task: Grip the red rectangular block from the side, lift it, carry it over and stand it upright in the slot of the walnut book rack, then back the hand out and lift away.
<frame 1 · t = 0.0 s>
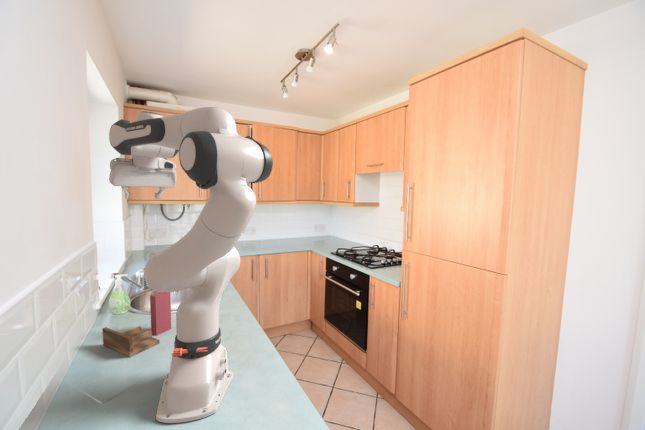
hand: (143, 198, 101), 52 cm above the table, tool tilted 20°, fingers open, 8 cm apart
red rectangular block: (161, 331, 110), on the table
book rack: (131, 344, 100), on the table
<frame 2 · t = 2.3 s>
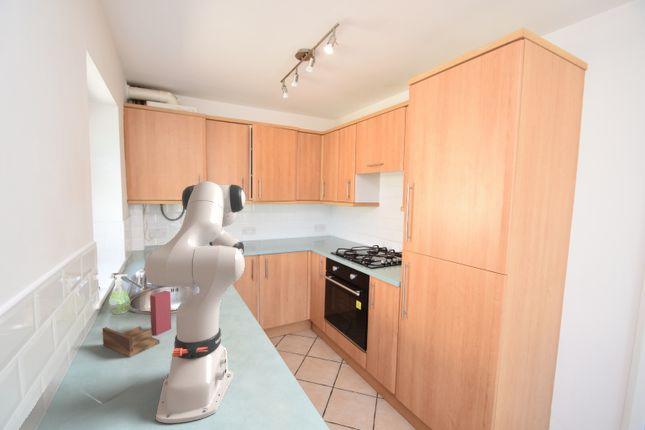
hand: (187, 273, 119), 20 cm above the table, tool horizontal, fingers open, 8 cm apart
nothing on the table moved.
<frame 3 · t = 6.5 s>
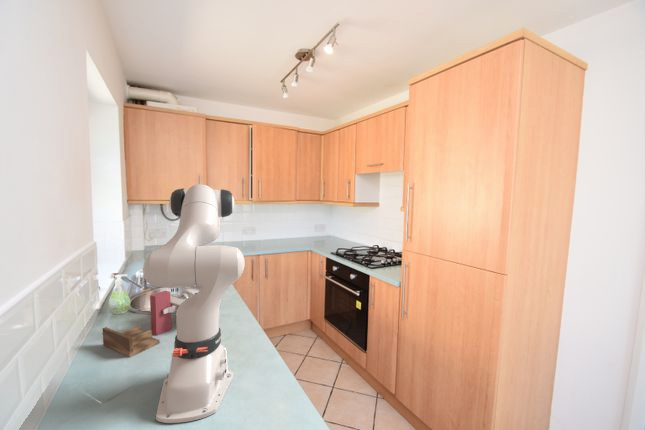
hand: (158, 310, 109), 9 cm above the table, tool horizontal, fingers closed on red rectangular block, 3 cm apart
red rectangular block: (161, 331, 110), on the table, touching gripper
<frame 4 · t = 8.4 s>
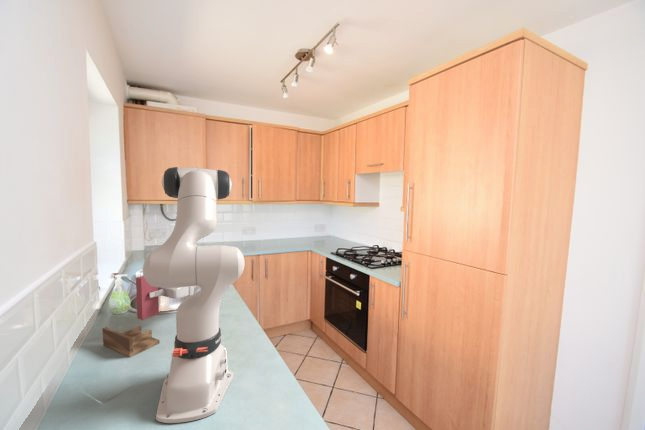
hand: (144, 294, 103), 17 cm above the table, tool horizontal, fingers closed on red rectangular block, 3 cm apart
red rectangular block: (148, 316, 105), point 8 cm above the table, touching gripper
when the fingers open (11 cm above the table, at t = 10.5 s): red rectangular block drops 1 cm, resting on book rack.
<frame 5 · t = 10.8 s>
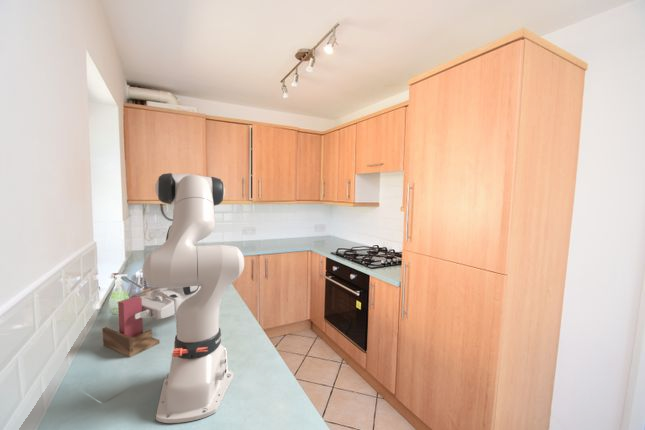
hand: (127, 314, 99), 11 cm above the table, tool horizontal, fingers open, 6 cm apart
red rectangular block: (131, 341, 100), point 1 cm above the table, touching book rack
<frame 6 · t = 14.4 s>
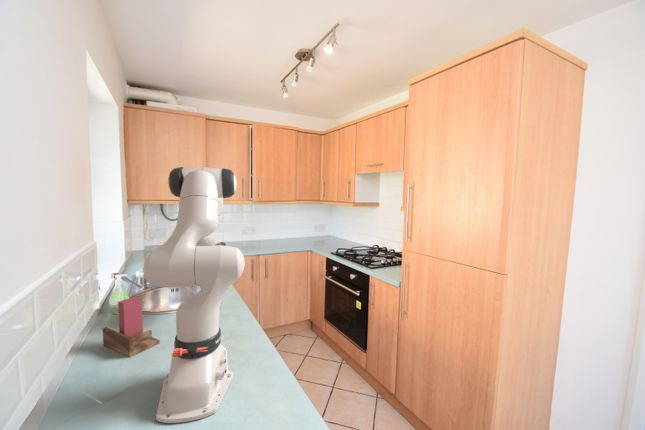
hand: (162, 276, 109), 21 cm above the table, tool horizontal, fingers open, 8 cm apart
nothing on the table moved.
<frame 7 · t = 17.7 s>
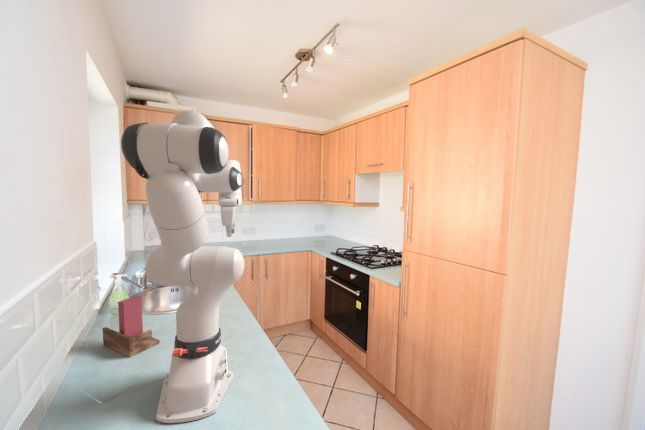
hand: (230, 235, 114), 37 cm above the table, tool pointing down, fingers open, 8 cm apart
nothing on the table moved.
at the end: red rectangular block 0.0 cm off-centre on the book rack, point 1.2 cm above the book rack's base; red rectangular block tilted 0°; the gripper is holding nothing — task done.
